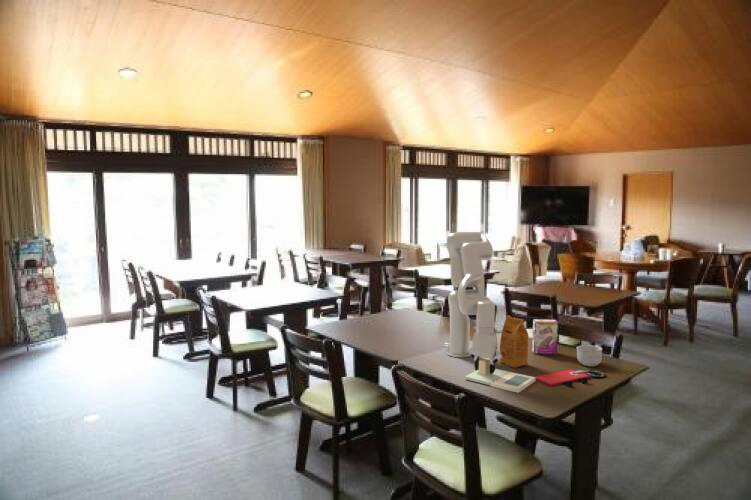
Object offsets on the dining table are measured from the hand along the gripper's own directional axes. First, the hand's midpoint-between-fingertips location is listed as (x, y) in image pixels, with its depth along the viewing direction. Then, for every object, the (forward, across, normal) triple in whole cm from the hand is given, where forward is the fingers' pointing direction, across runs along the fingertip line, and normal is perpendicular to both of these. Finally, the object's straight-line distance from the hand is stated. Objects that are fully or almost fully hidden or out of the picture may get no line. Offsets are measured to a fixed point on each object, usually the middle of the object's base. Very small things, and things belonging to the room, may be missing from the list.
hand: (484, 370), depth 222 cm
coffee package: (+3, +2, +24) cm, 24 cm away
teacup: (+3, +30, +46) cm, 55 cm away
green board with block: (+3, +1, 0) cm, 3 cm away
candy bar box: (+3, +7, +49) cm, 50 cm away
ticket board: (+3, +13, 0) cm, 13 cm away
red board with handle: (+3, +29, +21) cm, 36 cm away
